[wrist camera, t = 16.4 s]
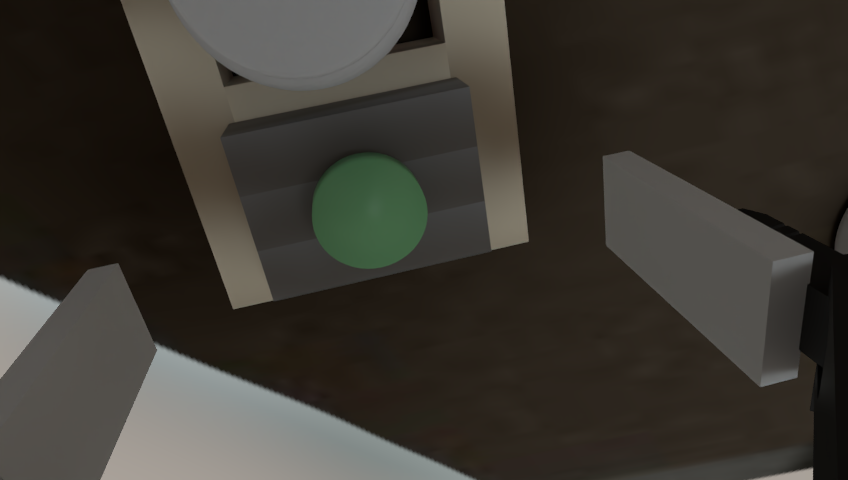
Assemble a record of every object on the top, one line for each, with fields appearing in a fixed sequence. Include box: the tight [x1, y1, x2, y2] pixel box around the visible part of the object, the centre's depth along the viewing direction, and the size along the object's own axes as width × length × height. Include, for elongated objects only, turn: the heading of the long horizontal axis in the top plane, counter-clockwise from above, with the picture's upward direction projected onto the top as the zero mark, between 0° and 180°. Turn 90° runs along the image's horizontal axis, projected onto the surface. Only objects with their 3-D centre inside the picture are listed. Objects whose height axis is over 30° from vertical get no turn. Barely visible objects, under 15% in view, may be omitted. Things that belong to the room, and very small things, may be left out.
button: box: [312, 152, 428, 269], centre depth 19 cm, size 4×4×3 cm
